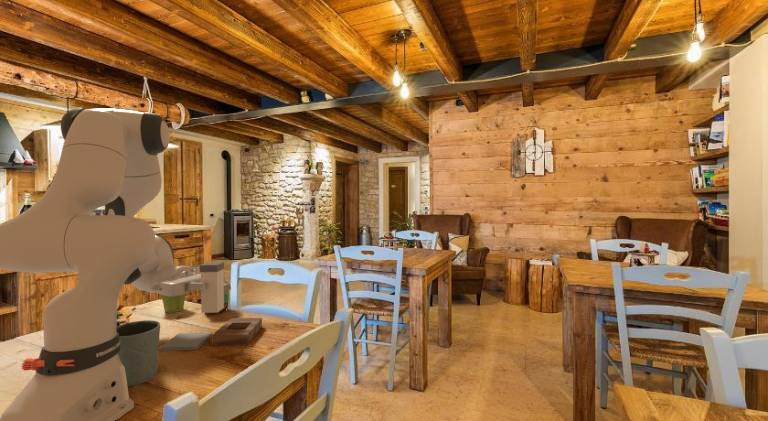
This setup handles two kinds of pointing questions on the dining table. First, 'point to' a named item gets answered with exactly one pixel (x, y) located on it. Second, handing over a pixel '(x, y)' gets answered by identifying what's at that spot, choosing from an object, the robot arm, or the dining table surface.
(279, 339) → the dining table surface
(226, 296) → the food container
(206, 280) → the plug
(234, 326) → the socket block
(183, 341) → the mat
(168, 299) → the plant pot
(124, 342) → the grey green bucket
